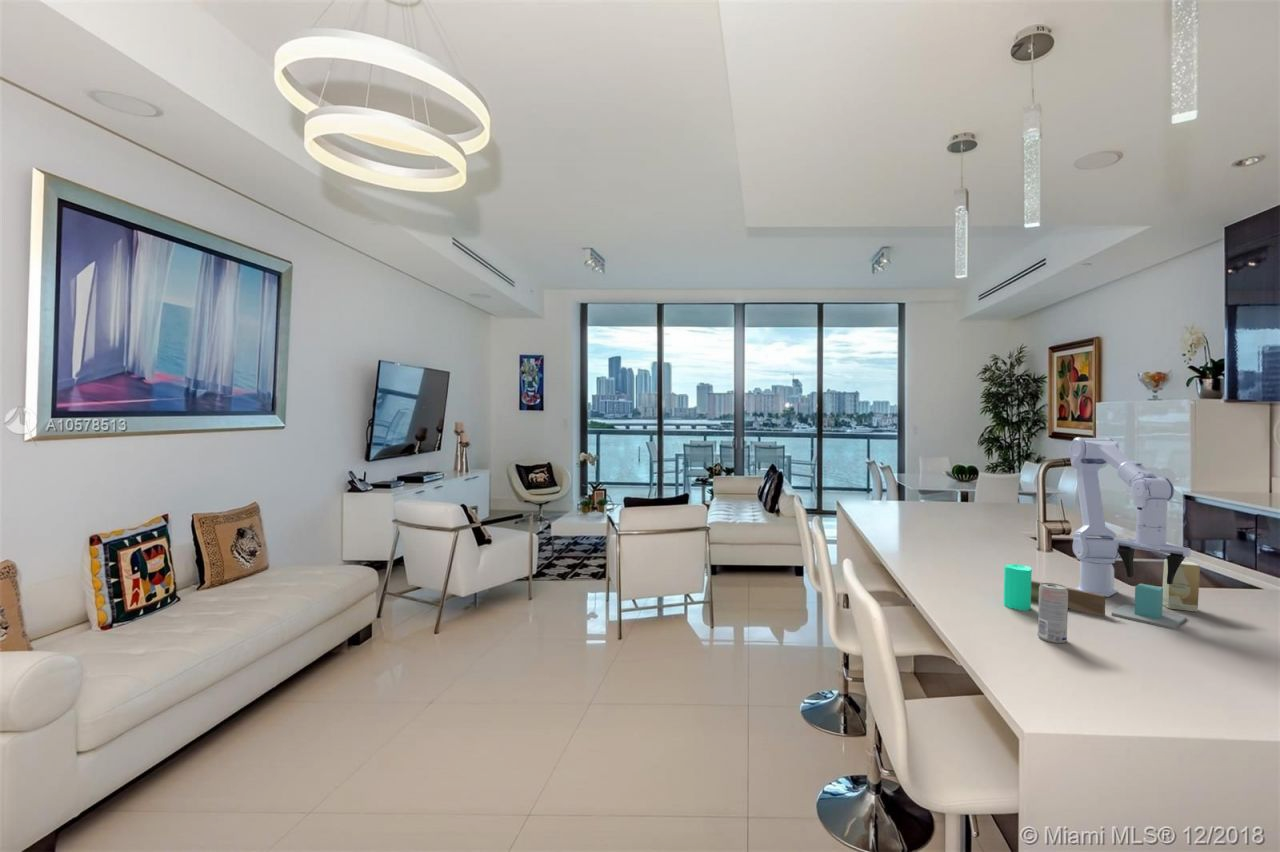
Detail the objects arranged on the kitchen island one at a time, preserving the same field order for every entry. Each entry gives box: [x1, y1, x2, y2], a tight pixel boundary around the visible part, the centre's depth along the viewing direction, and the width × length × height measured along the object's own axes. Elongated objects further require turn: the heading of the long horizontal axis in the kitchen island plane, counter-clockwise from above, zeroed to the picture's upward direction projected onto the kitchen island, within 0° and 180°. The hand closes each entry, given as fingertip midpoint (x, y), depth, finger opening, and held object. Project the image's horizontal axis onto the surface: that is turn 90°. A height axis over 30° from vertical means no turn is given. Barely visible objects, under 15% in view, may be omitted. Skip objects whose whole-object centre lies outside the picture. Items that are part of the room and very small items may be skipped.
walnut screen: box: [1031, 579, 1107, 617], centre depth 156 cm, size 2×20×5 cm, turn 37°
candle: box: [1003, 563, 1033, 611], centre depth 155 cm, size 6×6×12 cm
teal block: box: [1134, 583, 1164, 619], centre depth 148 cm, size 4×4×7 cm
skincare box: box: [1162, 558, 1201, 613], centre depth 155 cm, size 6×4×12 cm
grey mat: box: [1111, 603, 1187, 630], centre depth 148 cm, size 12×12×1 cm
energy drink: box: [1037, 582, 1069, 644], centre depth 132 cm, size 5×5×12 cm
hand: (1149, 580), depth 148 cm, fingers open, 7 cm apart
